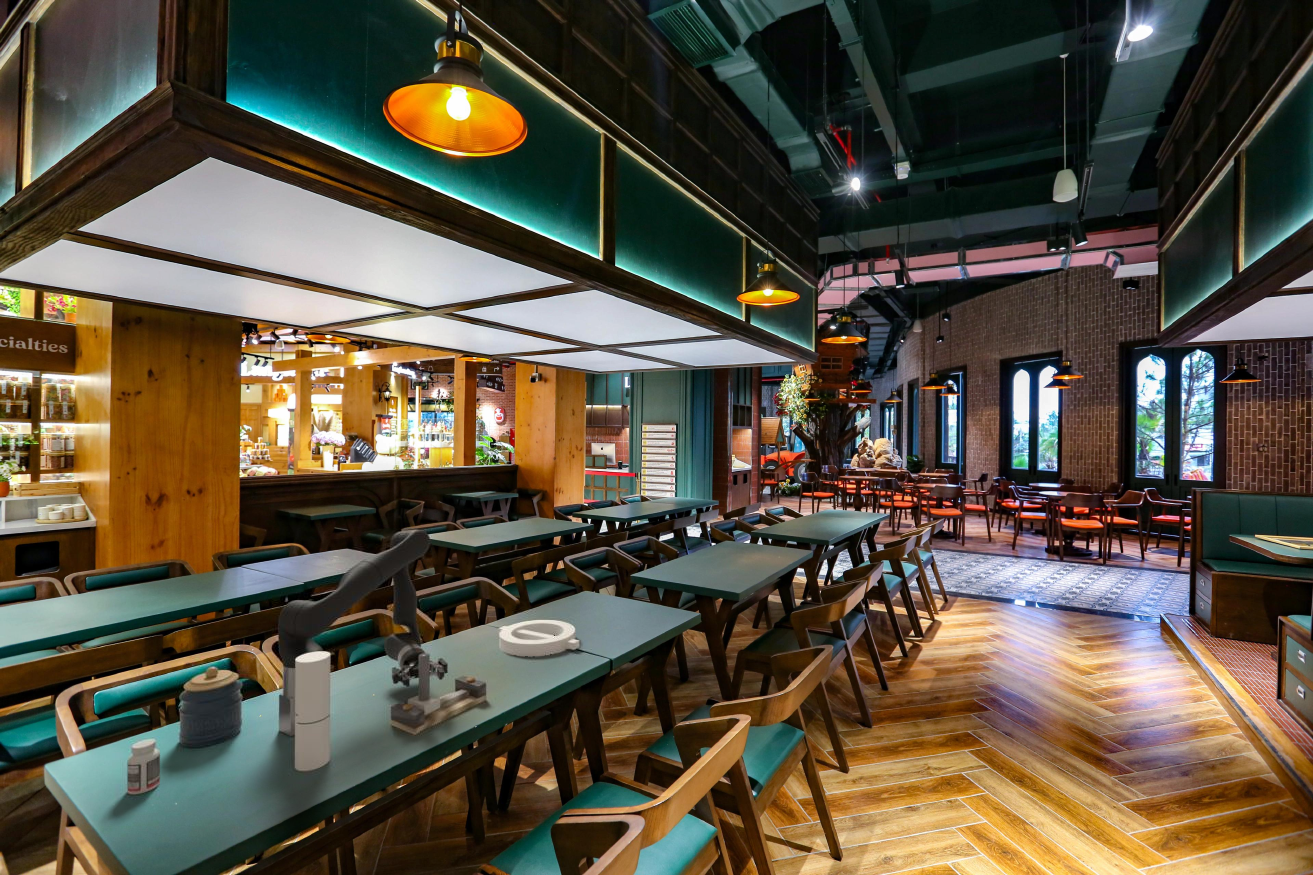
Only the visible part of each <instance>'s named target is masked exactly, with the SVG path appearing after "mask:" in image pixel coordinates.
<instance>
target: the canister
mask: <svg viewBox="0 0 1313 875" xmlns="http://www.w3.org/2000/svg"><path fill="white" fill-rule="evenodd" d="M239 677H240V675H239V673H236V672H234V671H231V670H227V669H220V670H219V669H218V668H217V667H215V666H210V667H208V668H207V669H206V671H205V672H203V673H201V674H198V675H195V676H193V677H192V678H191V679H190V680H189V681H187V682H186V683H185V684H184V685H183V689H184V691H182V692H181V693H180V695H179V700H180V701H181V706H180V707H179V709H178V711H179V733H178V736H179V737H178V739H179V743H180V745H181V746H182V747H185V748H191V749H192V748H204V747H208V746H213V745H217V744H220V743H222V742H225V741H228V740H229V739H232V738H233V737H235V736H236V735H237V734H239V733H240V731H241V729H242V726H243V717H242V714H243V713H242V709H243V708H242V703H243V701H242V700H243V694H242V693H241V689H242V687H243V682H242V681H240V680H239Z"/></svg>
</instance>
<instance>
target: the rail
mask: <svg viewBox="0 0 1313 875" xmlns="http://www.w3.org/2000/svg"><path fill="white" fill-rule="evenodd" d="M439 698H440V708H439V709H437V710H434V711H432V712H430V713H428V714H426V715H425V711H424V710H421V709H418V708H416V707H413V705H412V704H408V703H405V702H403V701H400V702H397V703H396V704H393V705H391V706H390V726H392V727H395V728H398V729H400V730H403V731H405V732H407V733H410V734H412V735H417V734H419V733H421V732H423V731H425V730H427V729H429V728H431V727H430V726H432V727H433V725H434V726H436V725H437V723H438V724H439V722H440V723H441V721H442V722H444V721H445V720H448V719H450V718H452V717H454V716H456V715H458V714H460V713H462V712H465V711H466V710H468V709H471V708H472V707H475V706H477V705H479V704H481V703H483V702H485V701H487V682H485V681H481V680H478V679H476V678H475V677H472V676H466V675H461V676H458V677H457V678H455V680H454V691H452V692H449V693H447V694H445V695H442V696H440V697H439ZM453 715H454V716H453ZM451 716H452V717H451ZM435 724H436V725H435ZM428 727H429V728H428ZM426 728H427V729H426ZM424 729H425V730H424ZM422 730H423V731H422ZM420 731H421V732H420Z"/></svg>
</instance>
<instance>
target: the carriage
mask: <svg viewBox="0 0 1313 875" xmlns="http://www.w3.org/2000/svg"><path fill="white" fill-rule="evenodd" d="M430 657H431V655H430V653H427V652H425V653H424V654H420V655H419V678H418V695H416V696H414V697H413V696H412V697H411V698H408V699H407V704H412V705H413V707H416V708H418V709H421V710H424V711H425V715H426V714H428V713H430V712H432V711H434V710H437V709H439V708H440V697H436V696H434V695H431V694H430V691H431V690H430V688H431V687H430V686H431V685H430V680H431V679H430V677H431V676H430V672H431V671H430V661H431V660H430V659H431V658H430Z"/></svg>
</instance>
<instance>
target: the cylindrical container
mask: <svg viewBox="0 0 1313 875" xmlns="http://www.w3.org/2000/svg"><path fill="white" fill-rule="evenodd" d="M330 743H331V653H330V651H324V650H323V651H318V652H311V653H306V654H303V655H301V656H299V657H297V658H296V659H295V735H294V769H295V770H296V771H299V772H308V771H314V770H317V769H319V768H321V767H324V766H326V765H327V764H328V763H329V762H330V760H331V744H330Z"/></svg>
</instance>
